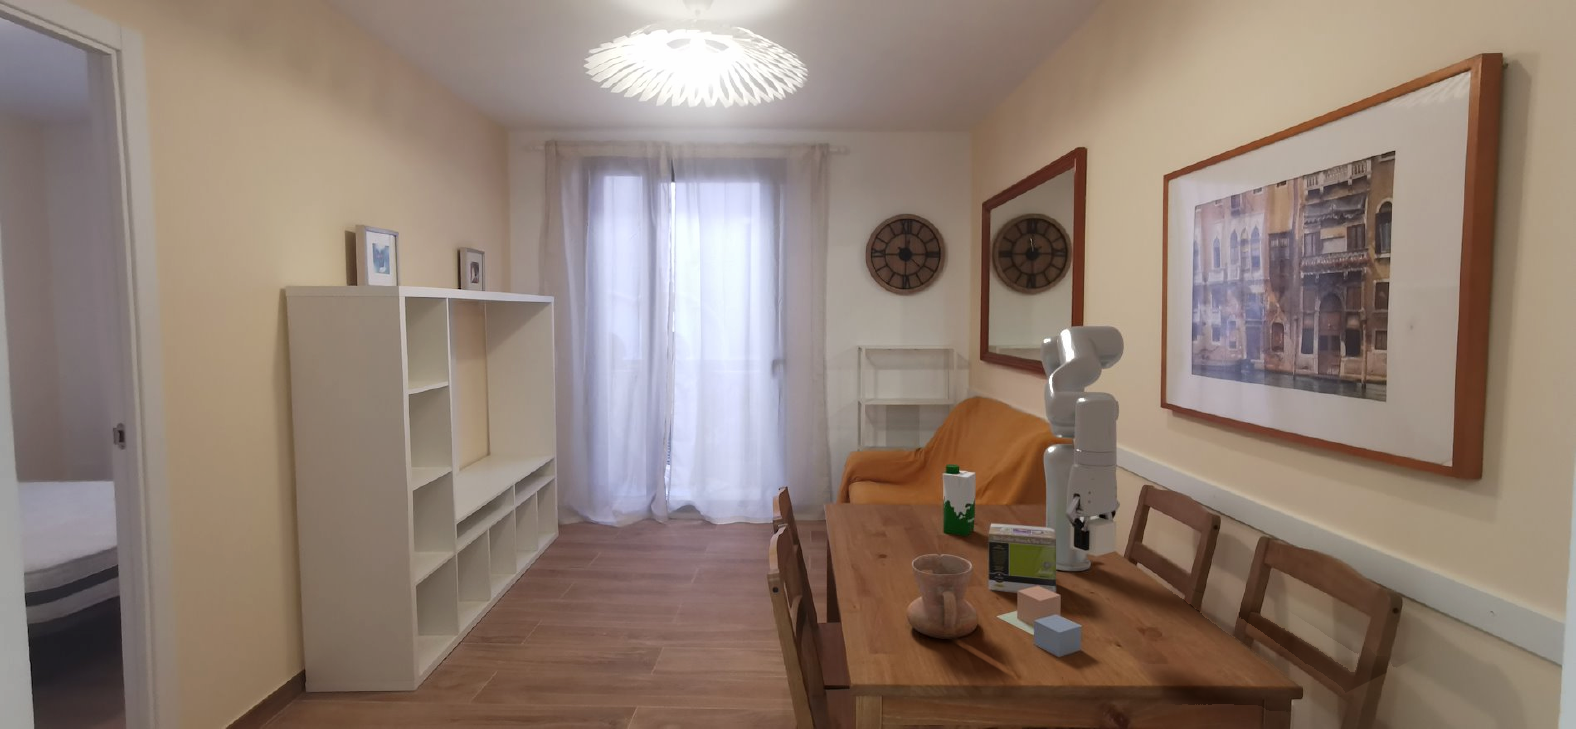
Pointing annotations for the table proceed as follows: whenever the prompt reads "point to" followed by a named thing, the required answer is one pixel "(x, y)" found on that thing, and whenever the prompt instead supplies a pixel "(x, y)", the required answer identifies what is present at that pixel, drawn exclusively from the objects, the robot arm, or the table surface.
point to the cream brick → (1098, 536)
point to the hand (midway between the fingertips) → (1092, 545)
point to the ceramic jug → (942, 597)
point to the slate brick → (1057, 635)
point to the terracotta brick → (1037, 604)
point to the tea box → (1021, 557)
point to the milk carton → (958, 501)
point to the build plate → (1018, 622)
